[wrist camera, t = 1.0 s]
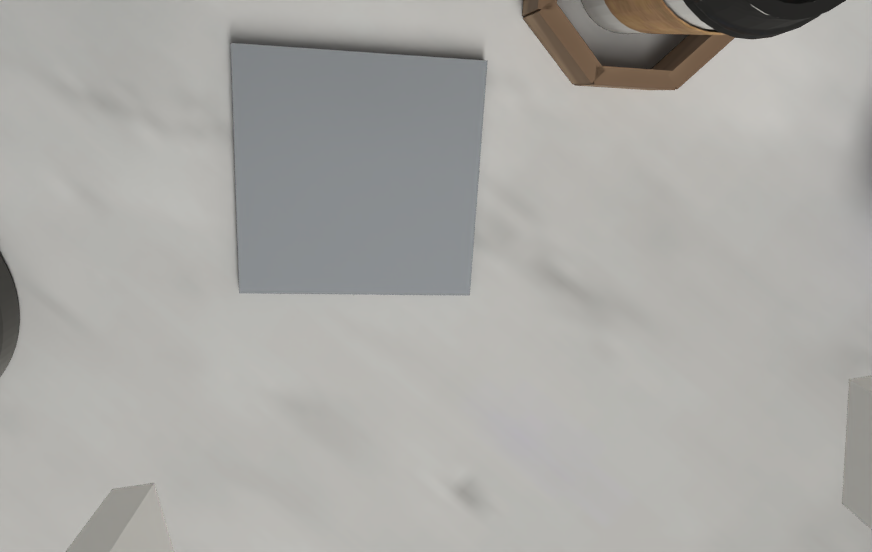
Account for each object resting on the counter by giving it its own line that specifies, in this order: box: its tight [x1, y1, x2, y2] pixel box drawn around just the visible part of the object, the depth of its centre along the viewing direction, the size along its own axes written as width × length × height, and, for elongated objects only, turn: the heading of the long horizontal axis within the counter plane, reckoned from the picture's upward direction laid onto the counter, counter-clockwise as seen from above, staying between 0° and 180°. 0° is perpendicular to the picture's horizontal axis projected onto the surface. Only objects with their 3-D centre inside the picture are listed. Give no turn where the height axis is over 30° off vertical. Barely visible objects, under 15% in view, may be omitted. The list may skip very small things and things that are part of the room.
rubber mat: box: [231, 43, 487, 295], centre depth 36 cm, size 14×14×1 cm
